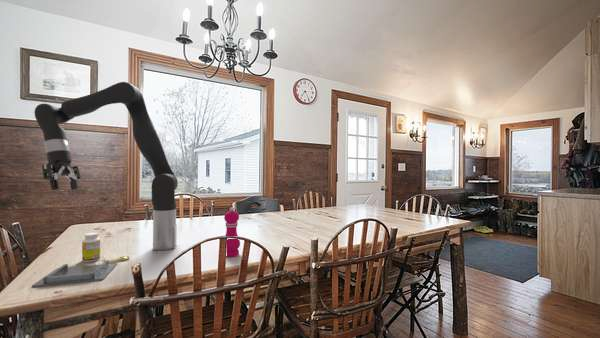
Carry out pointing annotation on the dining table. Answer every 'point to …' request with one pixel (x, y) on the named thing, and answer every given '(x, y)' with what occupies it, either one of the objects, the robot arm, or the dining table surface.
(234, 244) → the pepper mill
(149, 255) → the dining table surface
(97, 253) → the supplement bottle
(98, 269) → the dark grey tray
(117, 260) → the brass lever handle
